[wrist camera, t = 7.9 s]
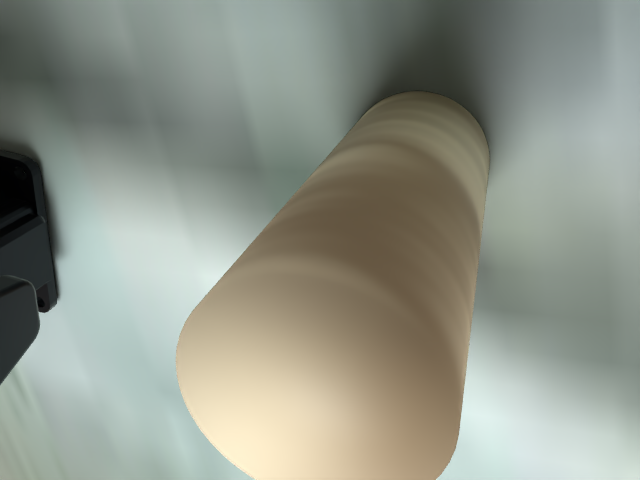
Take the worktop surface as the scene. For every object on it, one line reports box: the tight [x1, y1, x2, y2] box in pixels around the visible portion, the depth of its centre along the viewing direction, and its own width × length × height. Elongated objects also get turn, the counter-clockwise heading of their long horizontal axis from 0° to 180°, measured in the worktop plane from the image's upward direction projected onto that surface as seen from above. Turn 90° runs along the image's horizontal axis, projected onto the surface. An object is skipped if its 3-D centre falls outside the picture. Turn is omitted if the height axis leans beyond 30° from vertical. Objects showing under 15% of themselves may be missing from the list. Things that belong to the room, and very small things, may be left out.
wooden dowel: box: [176, 91, 490, 480], centre depth 12 cm, size 4×4×10 cm
